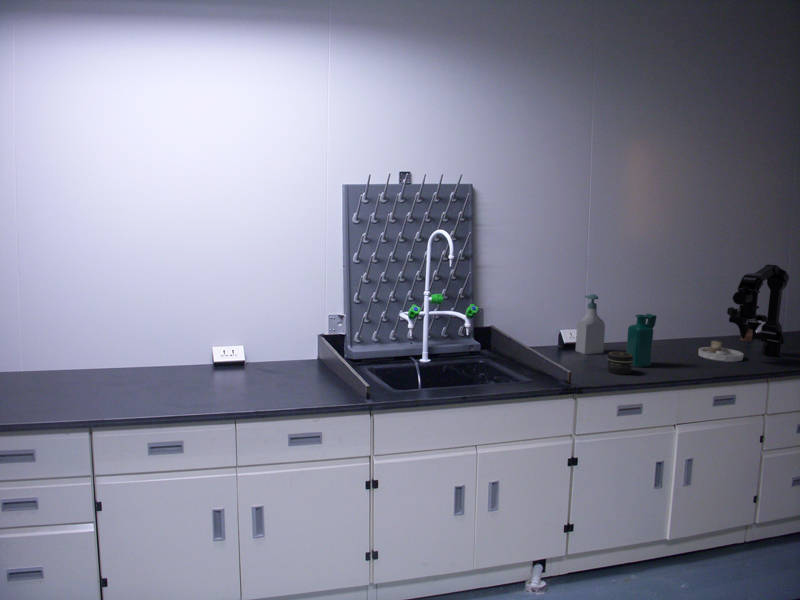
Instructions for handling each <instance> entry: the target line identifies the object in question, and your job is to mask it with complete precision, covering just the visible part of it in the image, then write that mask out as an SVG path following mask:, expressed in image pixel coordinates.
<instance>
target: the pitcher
mask: <svg viewBox="0 0 800 600" xmlns="http://www.w3.org/2000/svg"><path fill="white" fill-rule="evenodd" d="M634 317H635V318H636V323H635V324H632V325H629V326H628V328H627V340H626V351H625V353H629V354H632V355H633V365H632V367H634V368H646V367H648V368H649V367H650V366H651V365H652V355H653V343H654V327H655V326H656V322H657V315H655V314H652V313H646V314H636V315H634Z"/></svg>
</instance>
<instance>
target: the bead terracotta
mask: <svg viewBox="0 0 800 600" xmlns="http://www.w3.org/2000/svg"><path fill="white" fill-rule="evenodd" d="M752 333H753V330H752V329H748V331H747V333H746V336H745V338H744V339H743V338H741V337H740V339H739V340H740V341H742V342H752V340H753V335H752Z"/></svg>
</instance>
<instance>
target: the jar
mask: <svg viewBox="0 0 800 600" xmlns="http://www.w3.org/2000/svg"><path fill="white" fill-rule="evenodd" d="M606 362H607V363H606V369H607V371H608V373H610V374H613V375H618V376H619V375H622V376H624V375H631V373H632V371H633V366H632V365H633V355H632V354H629V353H626V351H625V352H624V351H610V352H608V353H607V361H606Z"/></svg>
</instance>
